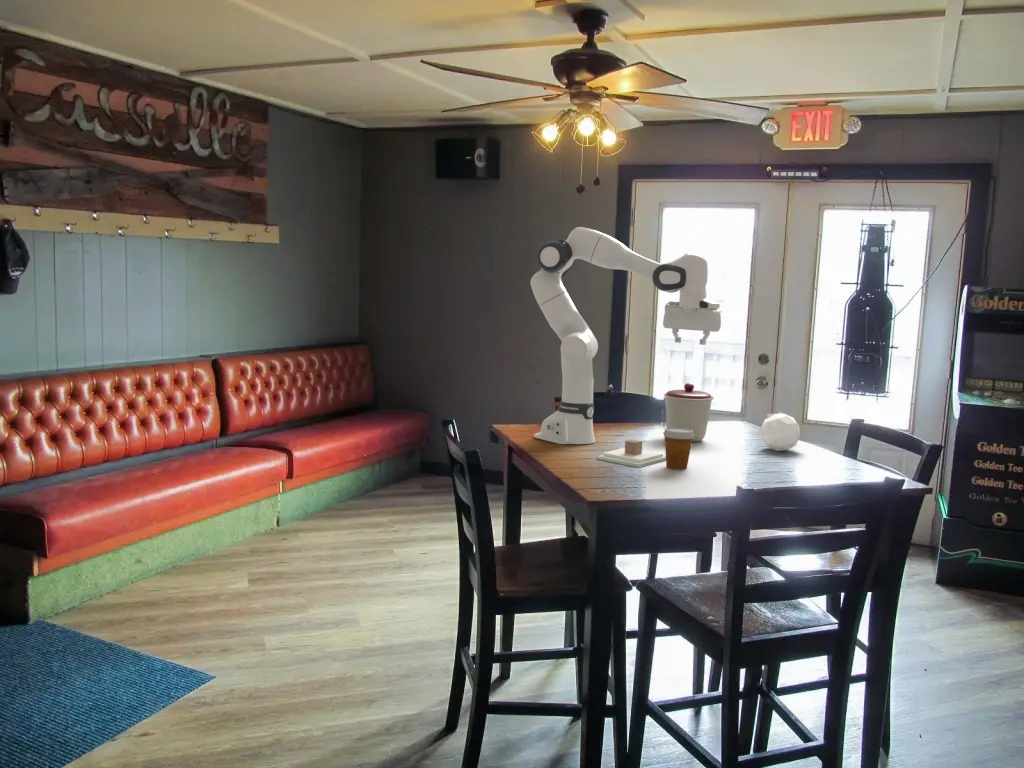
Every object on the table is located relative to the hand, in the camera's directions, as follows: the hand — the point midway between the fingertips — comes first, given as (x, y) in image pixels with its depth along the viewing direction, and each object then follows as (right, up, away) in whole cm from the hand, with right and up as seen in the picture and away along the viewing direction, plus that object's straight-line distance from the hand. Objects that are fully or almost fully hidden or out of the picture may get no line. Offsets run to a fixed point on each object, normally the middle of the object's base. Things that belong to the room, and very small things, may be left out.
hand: (690, 343), depth 294 cm
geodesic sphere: (+34, -37, +13) cm, 52 cm away
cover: (-21, -37, -13) cm, 45 cm away
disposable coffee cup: (-9, -40, -23) cm, 47 cm away
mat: (-21, -38, -13) cm, 45 cm away
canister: (+4, -35, +26) cm, 44 cm away
